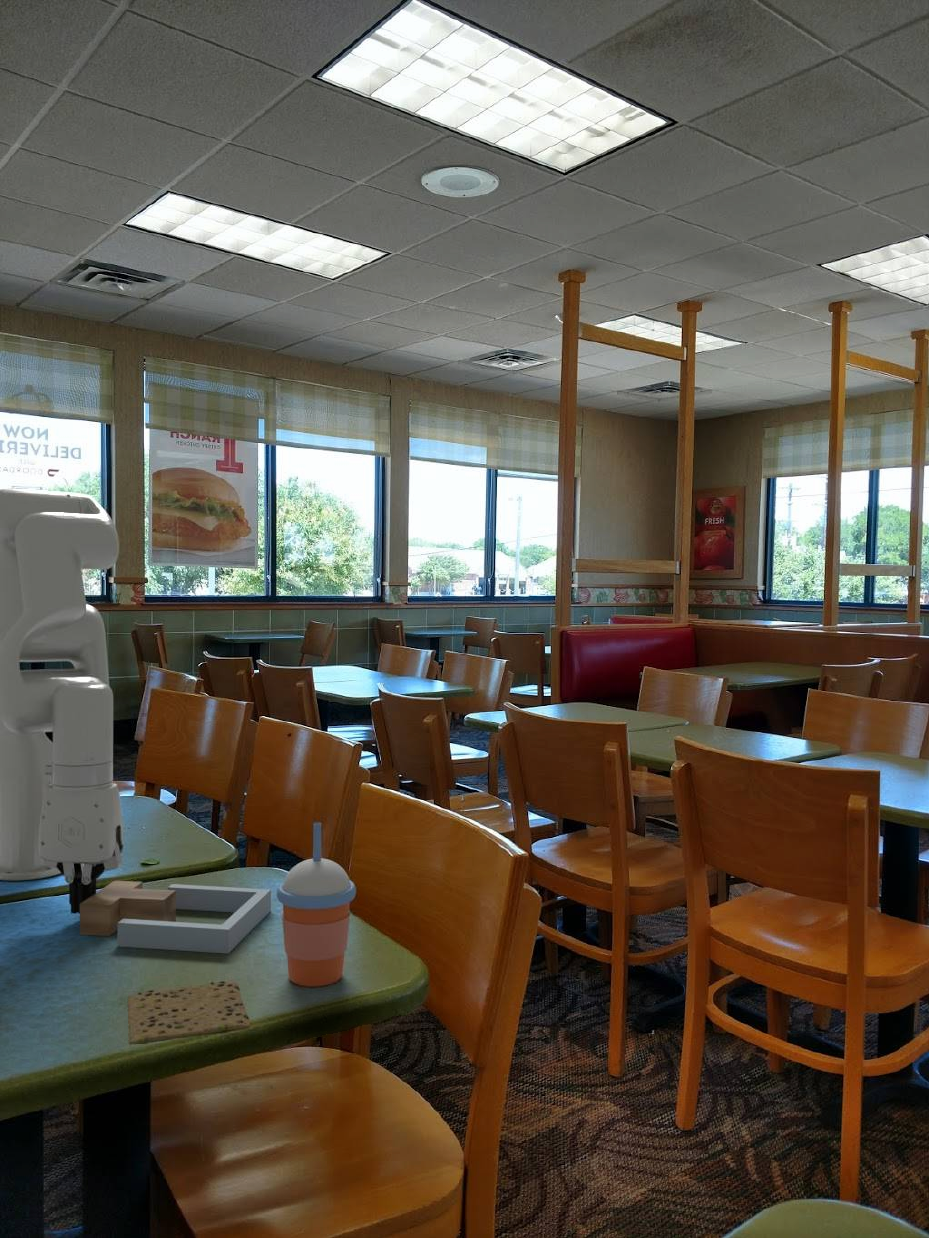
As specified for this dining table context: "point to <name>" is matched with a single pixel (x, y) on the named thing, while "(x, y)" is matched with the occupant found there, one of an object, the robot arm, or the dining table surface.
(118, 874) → the dining table surface
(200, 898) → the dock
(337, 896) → the cup with straw
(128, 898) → the t block
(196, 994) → the cookie
